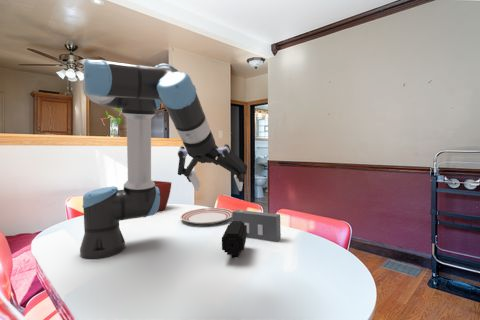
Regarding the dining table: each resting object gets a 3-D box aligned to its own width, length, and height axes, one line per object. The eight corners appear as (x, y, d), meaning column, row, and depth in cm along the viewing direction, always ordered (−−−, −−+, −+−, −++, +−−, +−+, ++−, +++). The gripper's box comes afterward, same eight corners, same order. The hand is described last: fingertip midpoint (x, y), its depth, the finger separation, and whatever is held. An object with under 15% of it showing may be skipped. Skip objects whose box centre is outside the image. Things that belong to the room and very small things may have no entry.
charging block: (276, 242, 107) (276, 216, 106) (232, 235, 117) (231, 211, 116) (280, 238, 111) (280, 213, 110) (237, 232, 121) (236, 209, 120)
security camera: (247, 244, 106) (247, 218, 105) (243, 265, 87) (242, 234, 87) (229, 244, 106) (229, 218, 106) (222, 265, 88) (221, 234, 87)
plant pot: (155, 205, 182) (154, 180, 181) (173, 209, 170) (172, 182, 169) (128, 211, 167) (126, 183, 166) (145, 216, 155) (144, 186, 154)
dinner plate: (226, 228, 127) (226, 221, 127) (171, 226, 133) (171, 220, 133) (238, 214, 154) (238, 208, 154) (192, 213, 160) (192, 207, 159)
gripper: (145, 147, 68) (177, 197, 83) (242, 143, 62) (258, 198, 77) (156, 127, 73) (185, 177, 88) (247, 121, 67) (261, 177, 82)
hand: (219, 187), depth 83 cm, fingers open, 13 cm apart
